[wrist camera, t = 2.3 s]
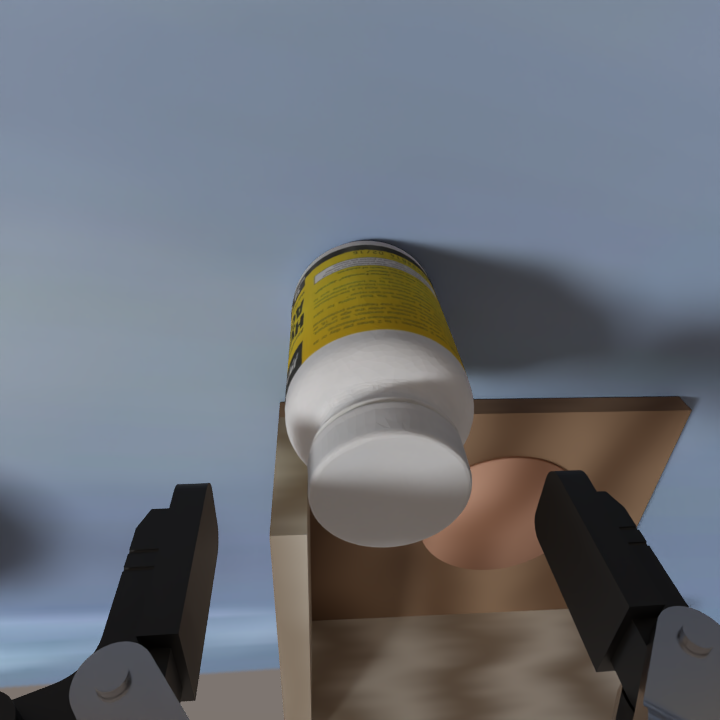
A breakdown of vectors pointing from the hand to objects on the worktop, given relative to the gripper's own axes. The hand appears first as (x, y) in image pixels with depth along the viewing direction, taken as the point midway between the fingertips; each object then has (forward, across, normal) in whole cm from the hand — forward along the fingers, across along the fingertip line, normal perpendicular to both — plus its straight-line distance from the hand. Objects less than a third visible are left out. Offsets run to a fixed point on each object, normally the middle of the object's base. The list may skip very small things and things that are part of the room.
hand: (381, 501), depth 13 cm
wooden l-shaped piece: (+10, -6, +12) cm, 17 cm away
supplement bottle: (+10, 0, 0) cm, 10 cm away
